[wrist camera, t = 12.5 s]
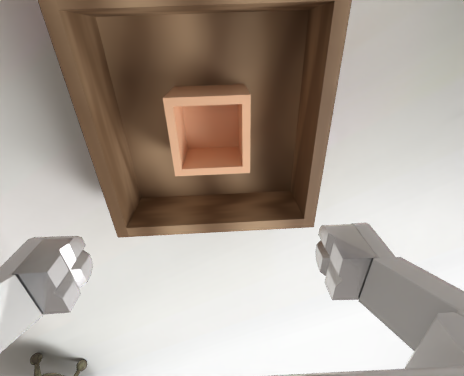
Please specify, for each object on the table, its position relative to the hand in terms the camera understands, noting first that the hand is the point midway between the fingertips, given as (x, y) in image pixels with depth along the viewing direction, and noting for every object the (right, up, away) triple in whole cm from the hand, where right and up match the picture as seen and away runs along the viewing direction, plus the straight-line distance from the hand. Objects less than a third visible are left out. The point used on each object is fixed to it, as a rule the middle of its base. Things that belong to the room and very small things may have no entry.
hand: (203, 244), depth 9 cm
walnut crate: (-1, +9, +15) cm, 17 cm away
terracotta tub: (-1, +8, +14) cm, 16 cm away
